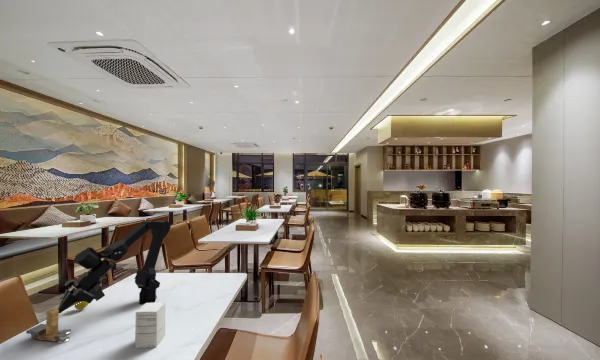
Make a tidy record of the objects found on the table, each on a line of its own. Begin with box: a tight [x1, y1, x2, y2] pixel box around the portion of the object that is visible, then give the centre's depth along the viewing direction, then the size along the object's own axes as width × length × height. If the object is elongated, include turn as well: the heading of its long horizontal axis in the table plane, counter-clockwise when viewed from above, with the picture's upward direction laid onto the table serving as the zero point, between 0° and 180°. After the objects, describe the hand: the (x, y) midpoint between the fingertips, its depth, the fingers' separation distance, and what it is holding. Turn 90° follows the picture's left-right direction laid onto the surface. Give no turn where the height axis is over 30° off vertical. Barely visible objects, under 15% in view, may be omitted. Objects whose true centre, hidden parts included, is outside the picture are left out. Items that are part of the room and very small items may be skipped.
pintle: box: [56, 328, 72, 345], centre depth 92 cm, size 4×4×3 cm
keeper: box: [25, 323, 46, 340], centre depth 94 cm, size 5×5×4 cm
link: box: [33, 308, 61, 342], centre depth 93 cm, size 9×3×10 cm, turn 80°
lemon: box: [73, 301, 89, 311], centre depth 115 cm, size 6×6×8 cm
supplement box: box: [134, 301, 167, 349], centre depth 92 cm, size 7×7×13 cm
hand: (58, 312), depth 94 cm, fingers closed
